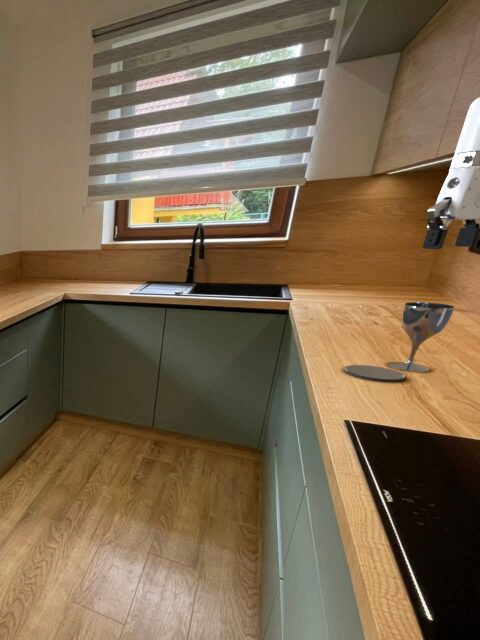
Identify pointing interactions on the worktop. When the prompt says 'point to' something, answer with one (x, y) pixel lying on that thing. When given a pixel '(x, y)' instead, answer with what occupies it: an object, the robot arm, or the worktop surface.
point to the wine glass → (422, 328)
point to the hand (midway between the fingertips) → (448, 247)
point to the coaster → (374, 373)
